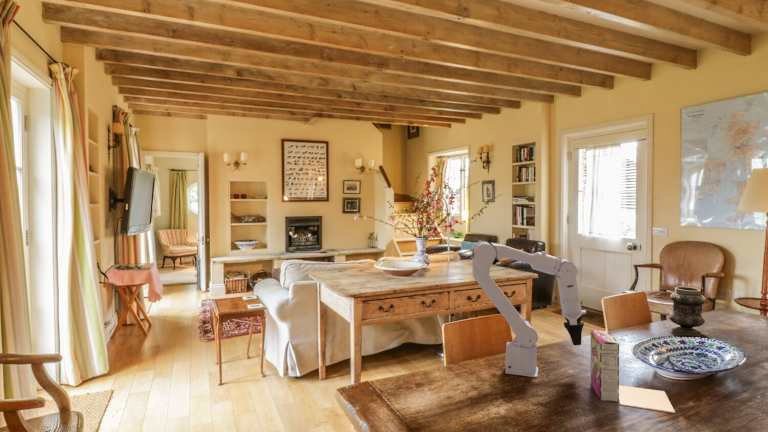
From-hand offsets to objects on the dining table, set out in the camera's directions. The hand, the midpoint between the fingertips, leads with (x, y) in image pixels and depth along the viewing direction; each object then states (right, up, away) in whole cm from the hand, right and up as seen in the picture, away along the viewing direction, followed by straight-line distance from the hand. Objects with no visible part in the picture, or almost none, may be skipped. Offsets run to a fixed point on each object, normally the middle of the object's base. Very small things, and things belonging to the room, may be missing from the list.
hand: (576, 340), depth 139 cm
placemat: (+11, -11, -17) cm, 23 cm away
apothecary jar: (+62, -8, +41) cm, 75 cm away
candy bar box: (+2, -11, -13) cm, 17 cm away
